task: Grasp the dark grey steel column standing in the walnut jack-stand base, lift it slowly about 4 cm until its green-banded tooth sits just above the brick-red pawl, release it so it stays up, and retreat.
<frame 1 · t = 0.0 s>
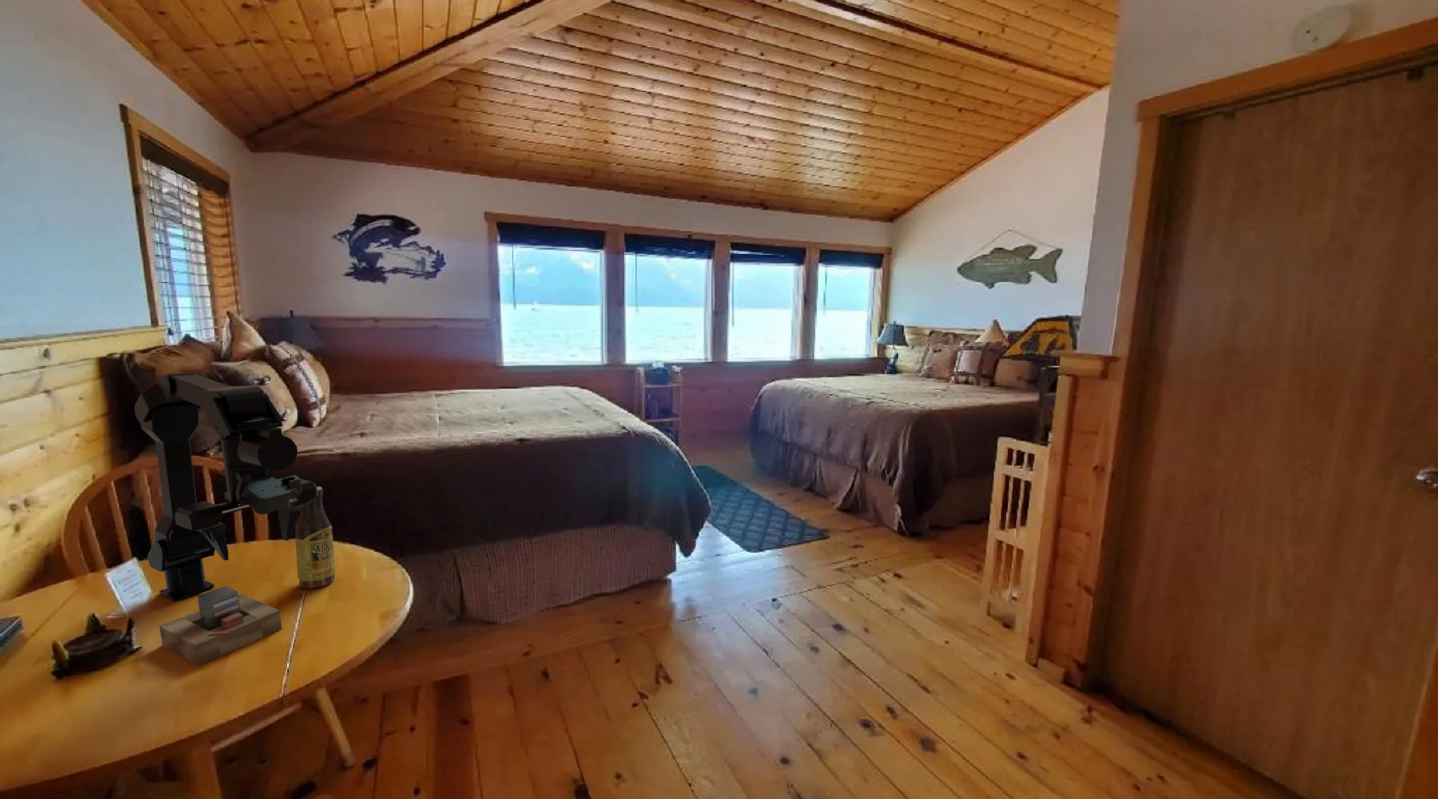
hand: (257, 549, 102), 15 cm above the table, fingers open, 9 cm apart
stand base: (223, 636, 102), on the table
sauce bottle: (318, 583, 121), on the table
column: (220, 615, 101), point 4 cm above the table, slide at 0.0 cm
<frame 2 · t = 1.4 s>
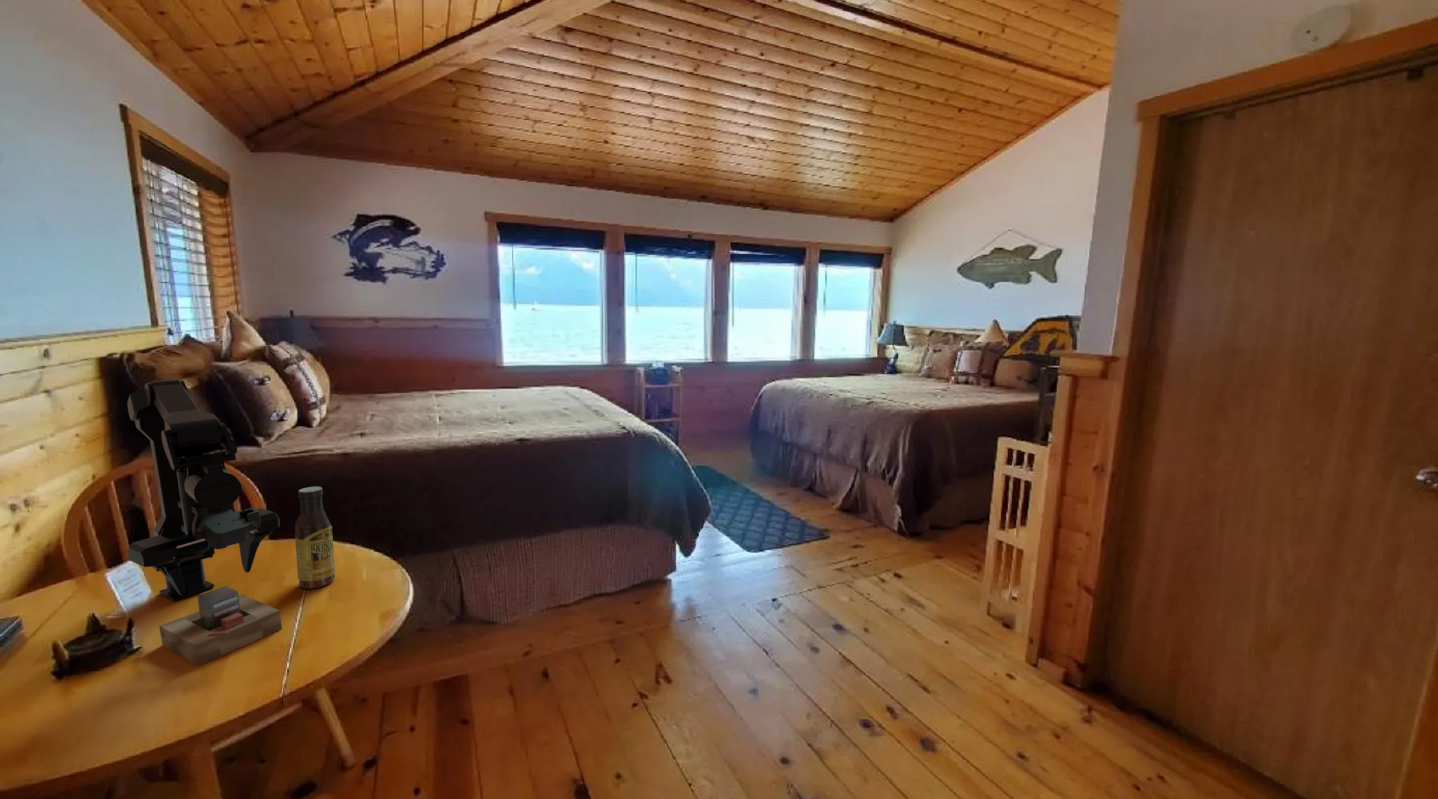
hand: (215, 582, 100), 10 cm above the table, fingers open, 9 cm apart
nothing on the table moved.
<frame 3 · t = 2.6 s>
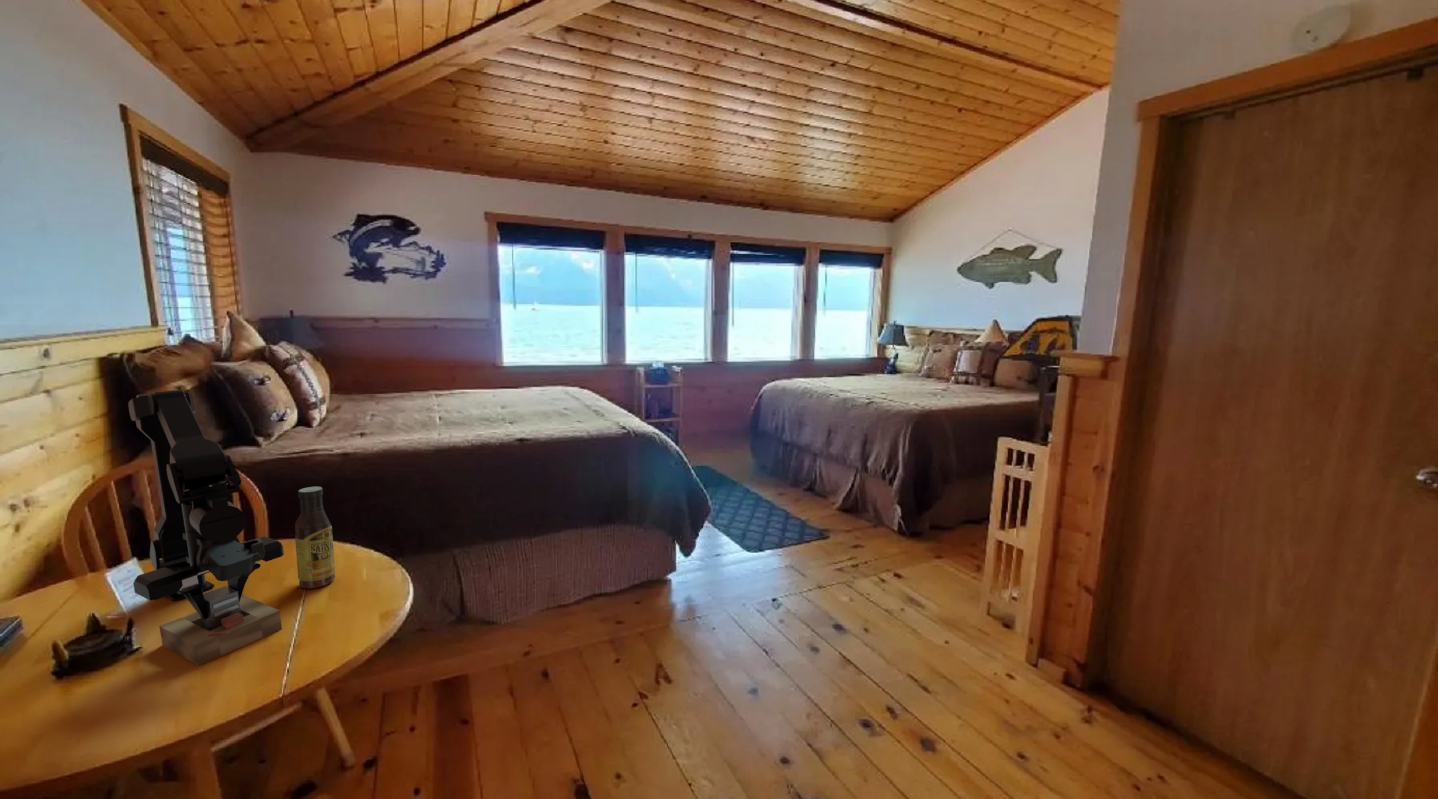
hand: (220, 612, 101), 5 cm above the table, fingers closed on column, 4 cm apart
column: (220, 615, 101), point 4 cm above the table, slide at 0.0 cm, touching gripper
everything else where it was.
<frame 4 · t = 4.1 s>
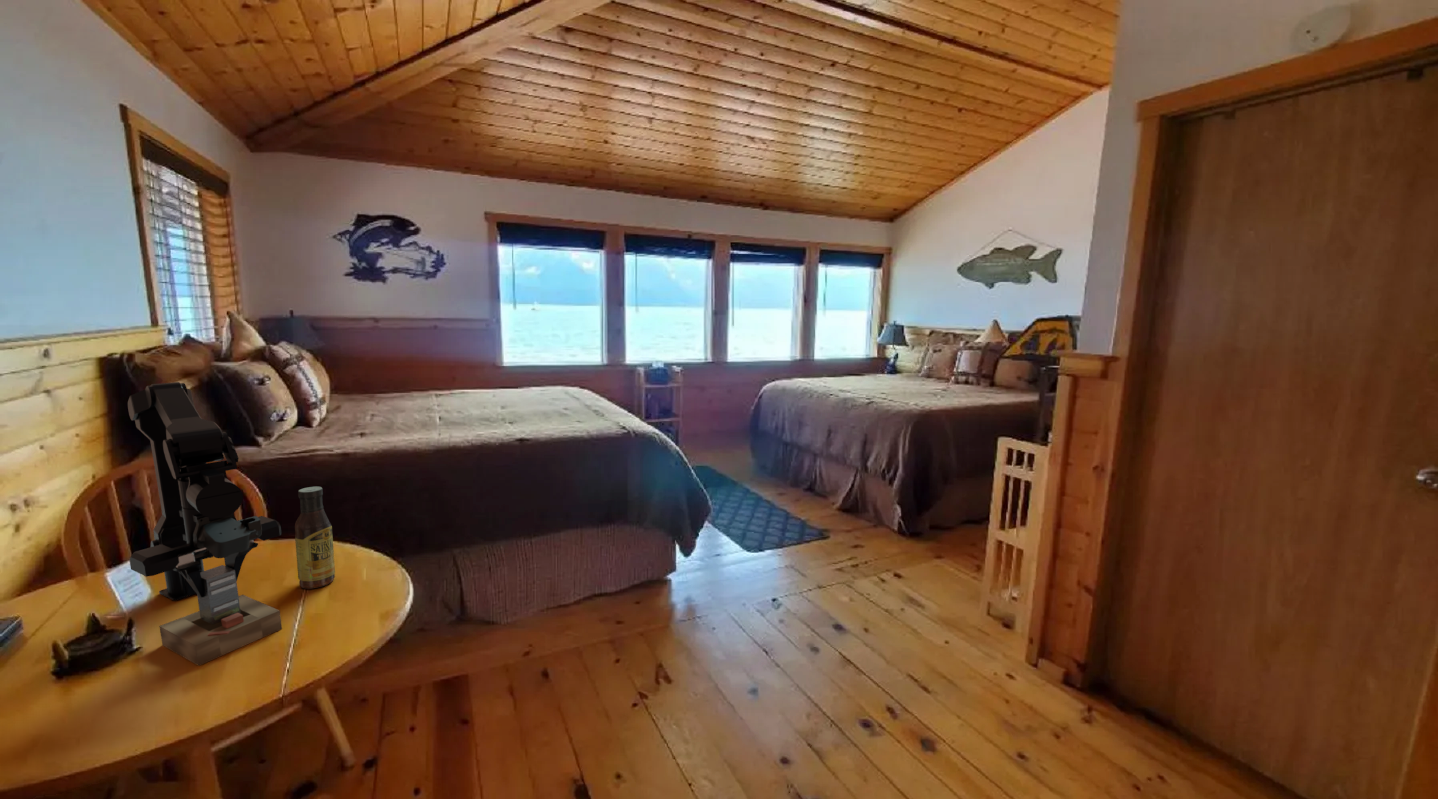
hand: (217, 591, 100), 8 cm above the table, fingers closed on column, 4 cm apart
column: (217, 594, 101), point 8 cm above the table, slide at 3.9 cm, touching gripper
everything else where it was.
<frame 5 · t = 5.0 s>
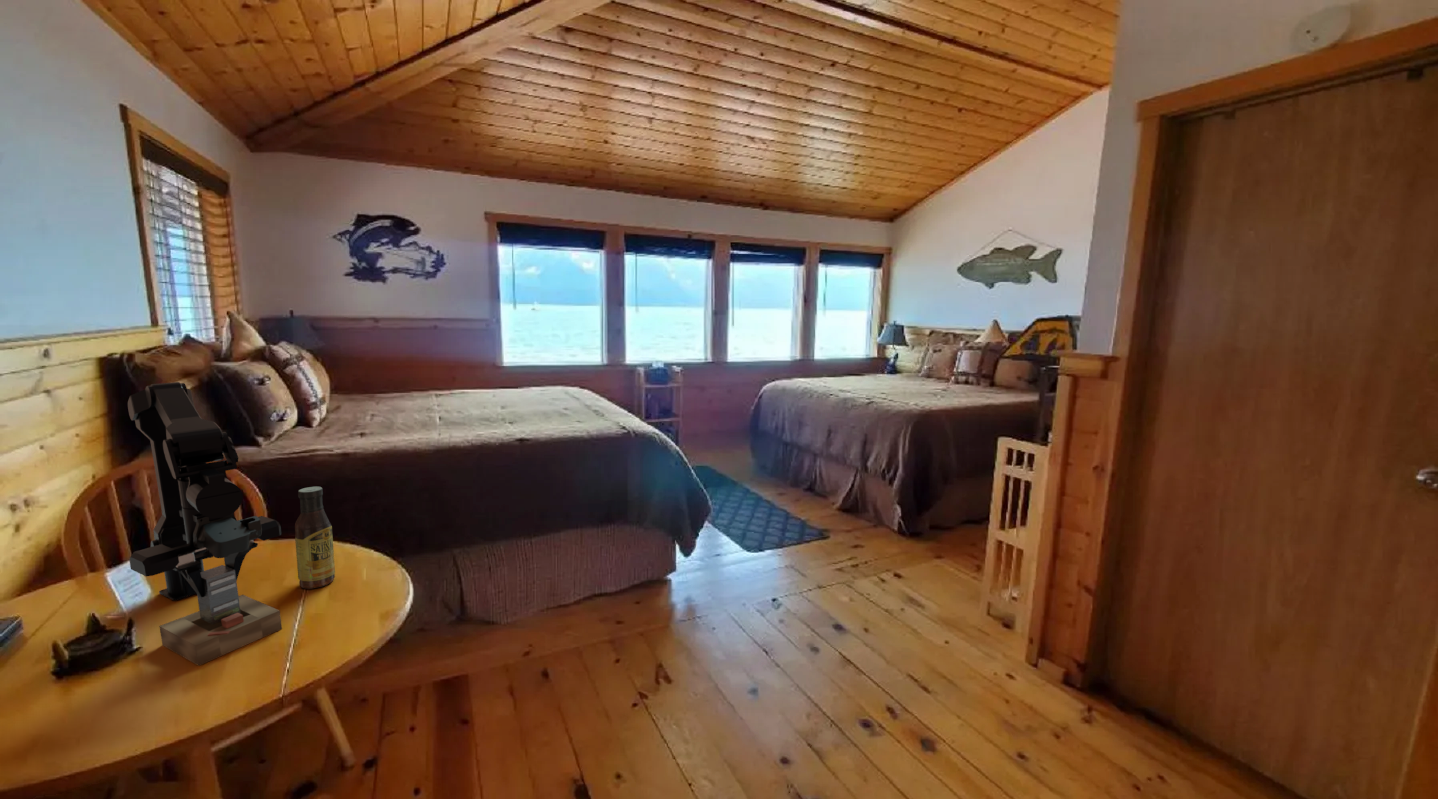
hand: (217, 591, 100), 8 cm above the table, fingers closed on column, 4 cm apart
column: (217, 594, 101), point 8 cm above the table, slide at 3.9 cm, touching gripper
everything else where it was.
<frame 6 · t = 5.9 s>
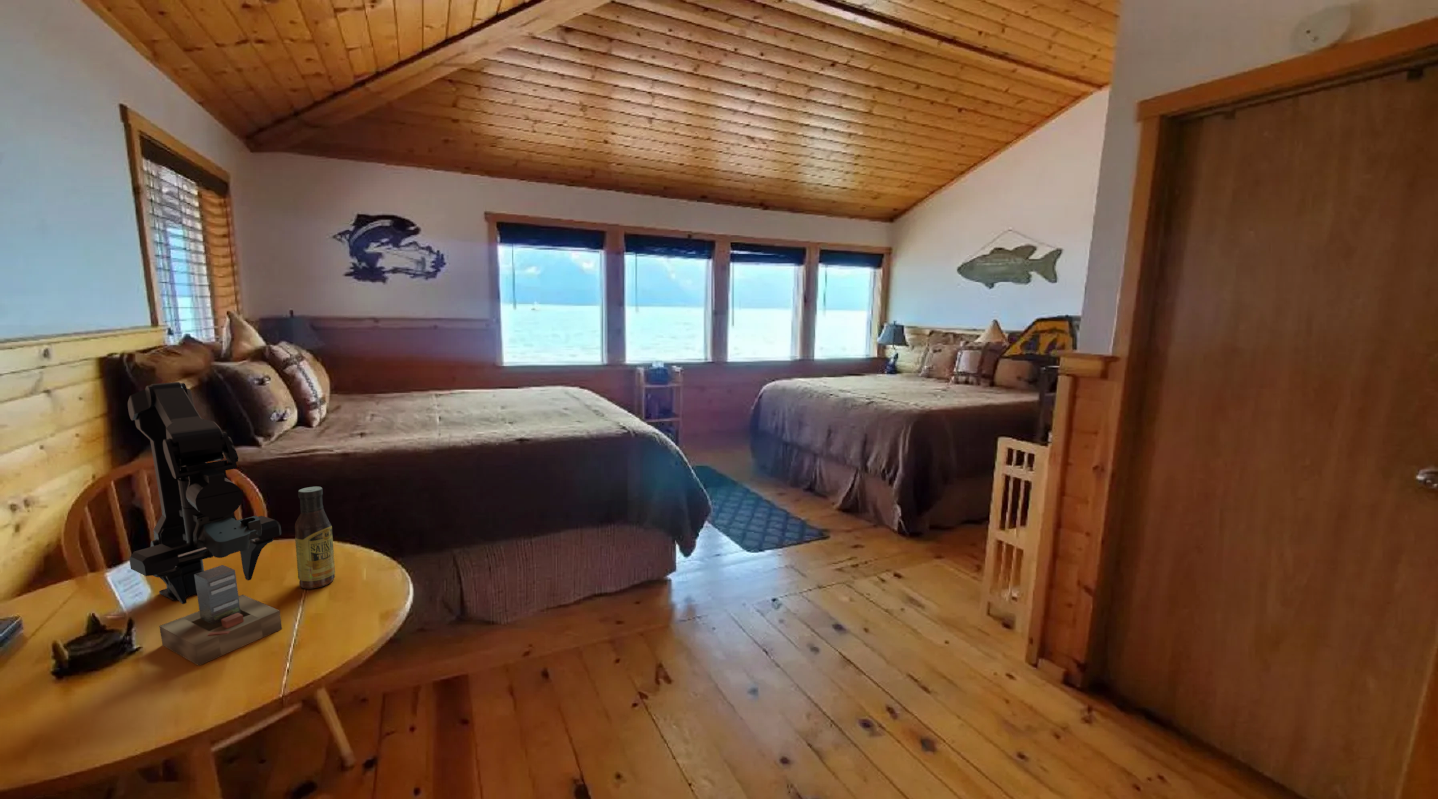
hand: (217, 590, 100), 8 cm above the table, fingers open, 9 cm apart
column: (217, 594, 101), point 8 cm above the table, slide at 3.9 cm
everything else where it was.
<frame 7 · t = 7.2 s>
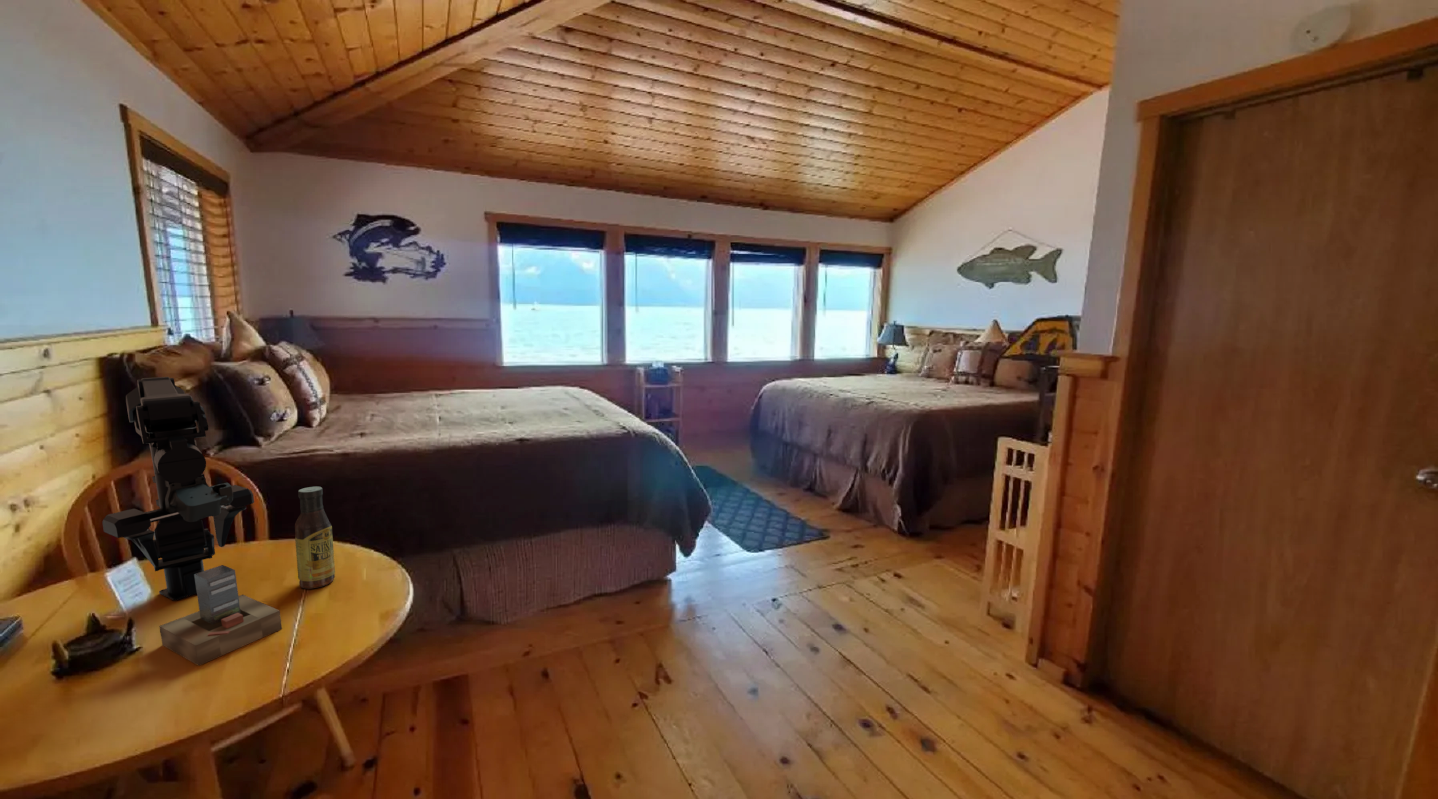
hand: (190, 556, 103), 13 cm above the table, fingers open, 9 cm apart
nothing on the table moved.
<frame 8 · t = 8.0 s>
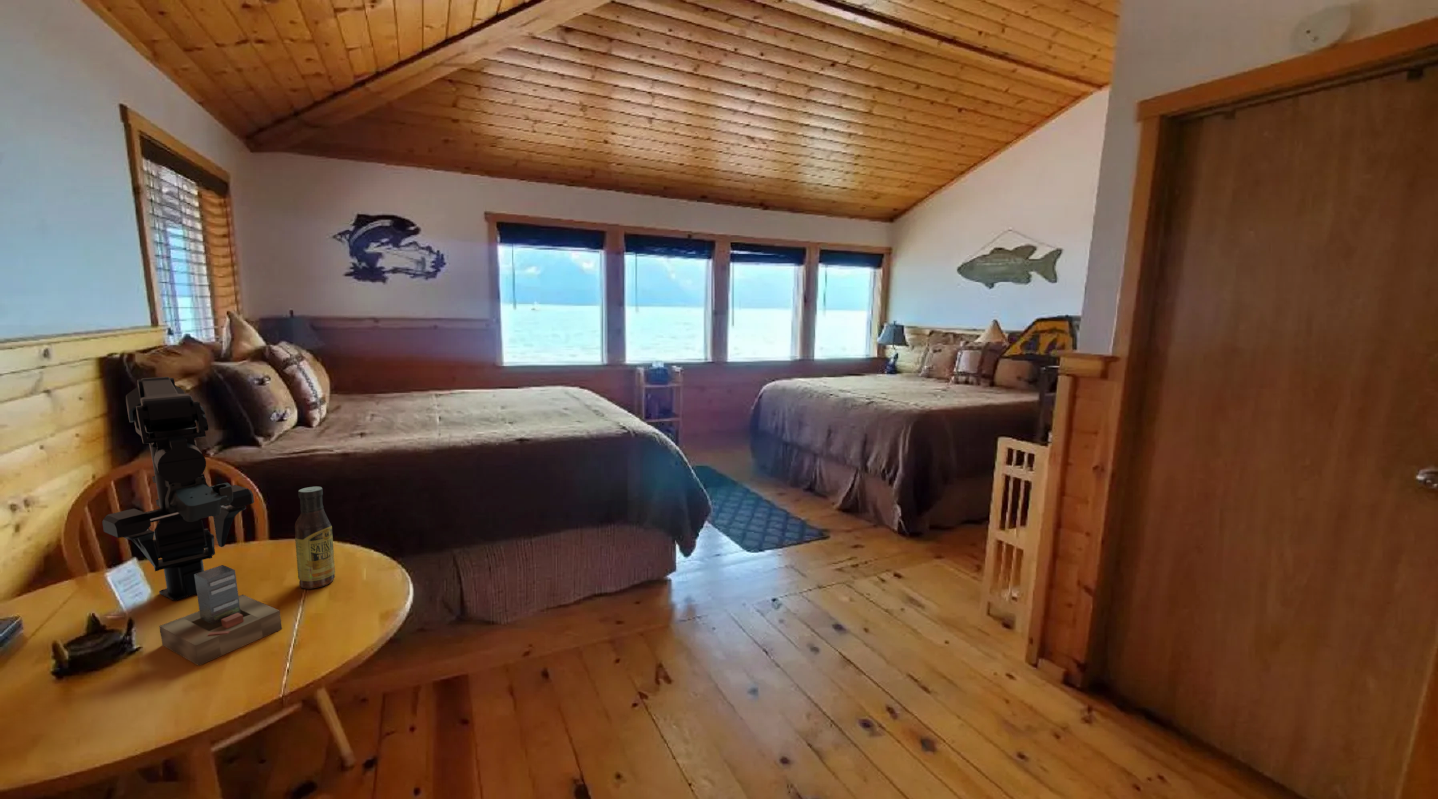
hand: (190, 556, 103), 13 cm above the table, fingers open, 9 cm apart
nothing on the table moved.
at the end: column slide at 3.9 cm; the gripper is holding nothing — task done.
